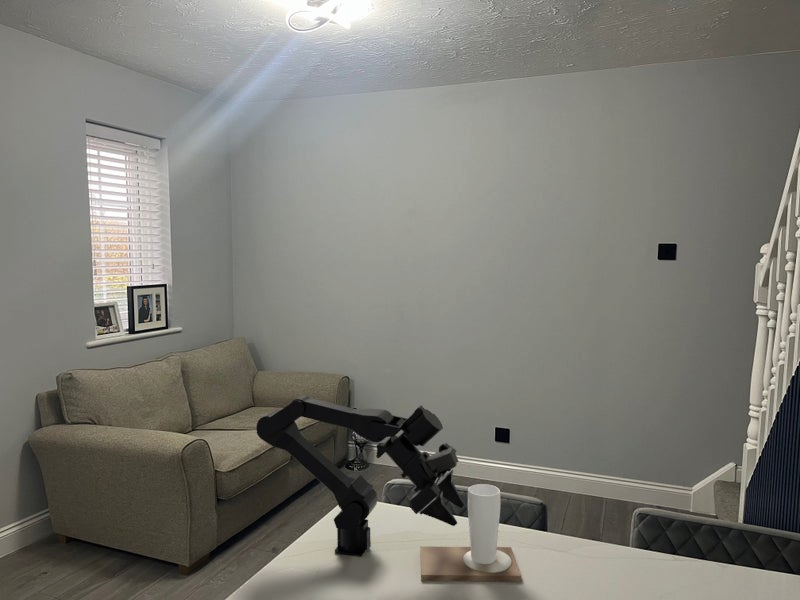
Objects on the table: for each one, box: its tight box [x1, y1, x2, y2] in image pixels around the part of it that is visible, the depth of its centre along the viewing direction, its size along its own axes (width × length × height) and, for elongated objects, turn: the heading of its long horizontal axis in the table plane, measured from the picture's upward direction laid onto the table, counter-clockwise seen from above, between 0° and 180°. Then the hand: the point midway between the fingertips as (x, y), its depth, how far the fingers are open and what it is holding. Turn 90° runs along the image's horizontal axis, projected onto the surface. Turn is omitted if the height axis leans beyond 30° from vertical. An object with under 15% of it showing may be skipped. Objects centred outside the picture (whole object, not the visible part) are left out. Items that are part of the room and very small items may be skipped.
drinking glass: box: [467, 483, 501, 565], centre depth 125 cm, size 7×7×15 cm
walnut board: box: [419, 546, 522, 583], centre depth 125 cm, size 20×12×1 cm, turn 89°
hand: (459, 515), depth 126 cm, fingers open, 9 cm apart
